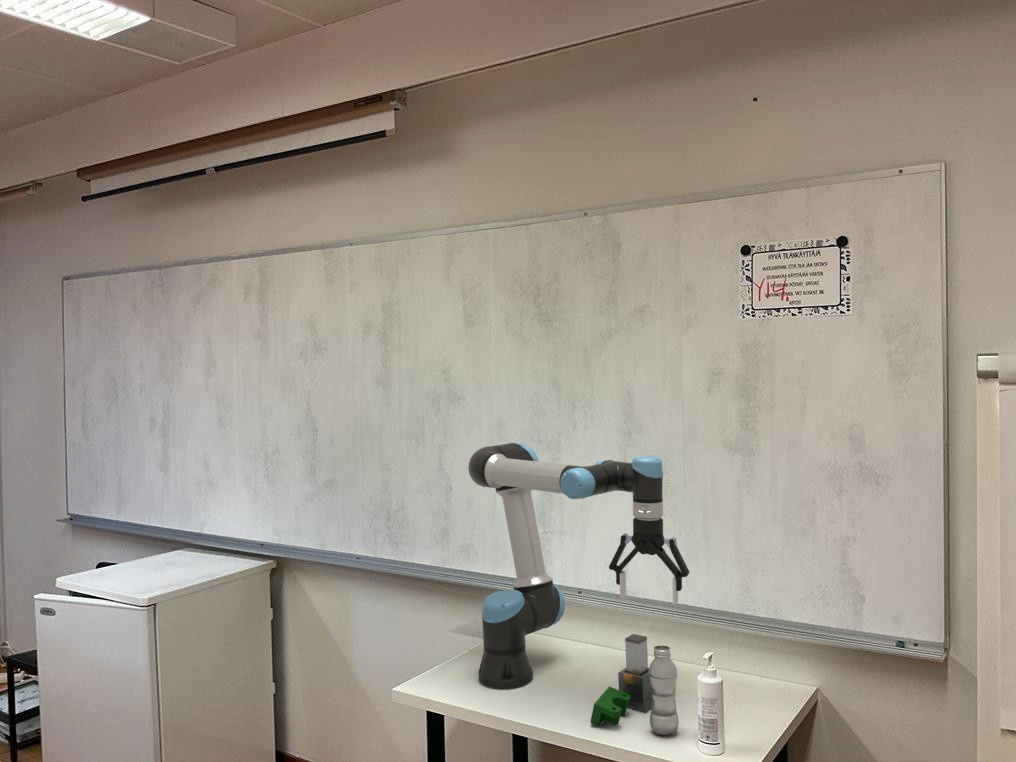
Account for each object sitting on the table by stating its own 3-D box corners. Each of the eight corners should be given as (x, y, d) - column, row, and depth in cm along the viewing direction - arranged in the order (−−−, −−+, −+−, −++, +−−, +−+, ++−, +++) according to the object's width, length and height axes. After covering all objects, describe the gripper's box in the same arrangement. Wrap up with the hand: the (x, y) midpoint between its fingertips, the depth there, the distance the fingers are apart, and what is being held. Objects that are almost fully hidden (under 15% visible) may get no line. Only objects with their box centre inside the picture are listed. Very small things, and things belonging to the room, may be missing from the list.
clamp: (612, 745, 198) (614, 718, 193) (589, 734, 200) (591, 709, 196) (630, 708, 207) (633, 683, 203) (608, 699, 209) (610, 673, 205)
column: (626, 695, 211) (624, 638, 210) (634, 690, 214) (633, 633, 214) (641, 699, 208) (639, 641, 208) (649, 693, 211) (647, 636, 211)
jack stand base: (611, 704, 210) (610, 671, 210) (631, 691, 218) (630, 659, 218) (645, 713, 204) (644, 680, 204) (665, 699, 212) (664, 667, 212)
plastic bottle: (651, 725, 197) (648, 642, 197) (680, 727, 196) (677, 644, 195) (648, 737, 191) (645, 651, 191) (677, 740, 189) (675, 653, 189)
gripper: (596, 517, 211) (597, 599, 212) (694, 524, 201) (695, 610, 202) (605, 511, 218) (606, 590, 219) (700, 517, 208) (701, 601, 209)
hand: (648, 600), depth 210 cm, fingers open, 13 cm apart
